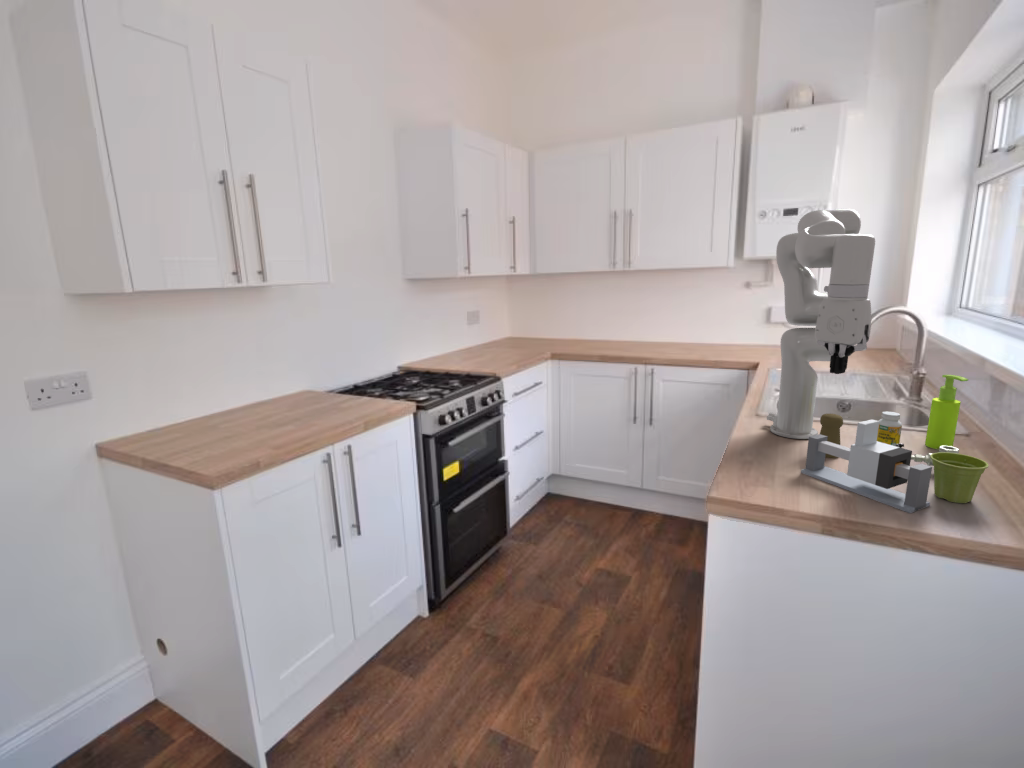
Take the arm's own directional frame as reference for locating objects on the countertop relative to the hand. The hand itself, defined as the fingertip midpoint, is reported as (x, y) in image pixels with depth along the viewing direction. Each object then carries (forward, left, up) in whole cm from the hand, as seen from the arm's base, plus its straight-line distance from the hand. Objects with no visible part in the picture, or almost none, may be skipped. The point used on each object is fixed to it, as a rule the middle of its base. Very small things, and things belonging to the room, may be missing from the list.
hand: (837, 372), depth 119 cm
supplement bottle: (-4, +33, -25) cm, 42 cm away
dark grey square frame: (+15, 0, -22) cm, 26 cm away
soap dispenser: (+3, +45, -25) cm, 51 cm away
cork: (-8, +14, -25) cm, 30 cm away
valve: (+10, +22, -26) cm, 35 cm away
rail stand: (+9, 0, -25) cm, 27 cm away
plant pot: (+21, +12, -25) cm, 35 cm away
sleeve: (+10, 0, -22) cm, 24 cm away
